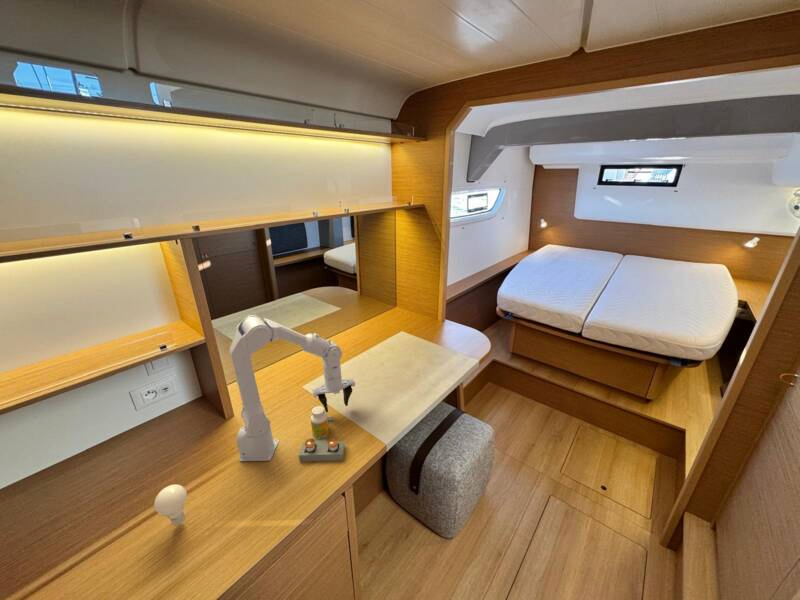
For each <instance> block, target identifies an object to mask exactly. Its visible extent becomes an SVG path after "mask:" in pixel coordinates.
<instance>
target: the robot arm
mask: <svg viewBox="0 0 800 600" xmlns="http://www.w3.org/2000/svg"><path fill="white" fill-rule="evenodd" d="M278 340H282V341H286V342H289V343H292V344H295V345H299V346H300V348H301V350H302V351H304V352H306V353H309V354H311V355H314V356H316V357H319V358H321V360H322V367H323V376H324V378H323V379H324V384H323V385H321V386H319V387H317V388H315V389H312V395H313V398H318V400H319V402H320V403H321V404H322V405H323V406H322V407H324V410H325V412H326V413H329V408H328V398H327V395H326V394H333V395H336V394H339V393H341V391H342V392H343V403H344V405H345V407H348V404H349V401H350V397H351V395H352V393H353V387H355V386H356V380H355V379H354V378H349V379H342V367H341V358H342V356H343V351H342V350H341V348H340V347H339V346H338V345H337V344H336V343H335V342H334V341H332V340H331V339H328V338H327V339H325V338H322V337H320V335H319V334H318V333H315V332H314V333H307V334H305V335H304V334H302V333H300V332H298V331H295V330H293V329H291V328H289V327H287V326H285V325H282V324H280V323H278V322H276V321H273V320H271V319H268V318H265V317H263V318H262V317H261V316H259V315H255V314H251V315H248V316H246V317H245V318H243V319H242V320H241V321H240V322H239V324H237V326H236V331H235V334H234V337H233V340H232V342H231V344H230V347H229V349H228V350H229V356H230V360H231V363H232V368H233V370H234V376H235V379H236V383H237V387H238V390H239V395H240V398H241V402H242V403H241V406H242V410H241V413H240V415H241V418H242V420H243V423H244V426H241V427H240V429H239V430H238V432H237V434H236V444H237V448H238V452H239V457H240V458H239V462H260V461H261V462H262V461H265V462H266V461H267V462H268V461H271V460H272V458H273V456H274V454H275V451H276V449H277V447H278V445H279V442H280V440H279V439H274V437H273V433H272V428H271V427H272V426H271V421H270V419H269V418H268V416H267V414H266V412H265V410H264V407H263V405H262V402H261V398H260V393H259V389H258V386H257V381H256V377H255V372H254V369H253V368H254V367H253V362H252V359H251V358H252V357H251V356H252V355H253V354H254V353H255V352H257V351H258V350H260V349H262V348H263V347H264V346H267V344H269V342H271V343H274V342H276V341H278Z"/></svg>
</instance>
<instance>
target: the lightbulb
mask: <svg viewBox="0 0 800 600" xmlns="http://www.w3.org/2000/svg"><path fill="white" fill-rule="evenodd" d="M187 496H188V493H187V490H186V488H185V487H184V486H182V485H181V484H178V483H177V484H176V483H175V484H170V485H168V486H165V487H164V488H162V489H161V490H160V491H159V493H158V494H157V495H156V497H155V499H154V503H153V507H154V510H155V512H156V513H157V514H159V516H164V517H167V518H168V519H169V520H170V522H171V524H172V526H174V527H176V526H179V525H181V524H182V523H184V521H185V519H186V516H185V513H184V505H185V504H186V501H187V499H188V498H187Z"/></svg>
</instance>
